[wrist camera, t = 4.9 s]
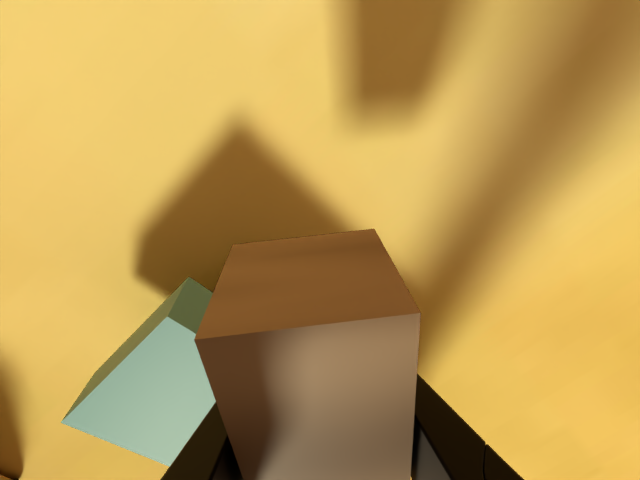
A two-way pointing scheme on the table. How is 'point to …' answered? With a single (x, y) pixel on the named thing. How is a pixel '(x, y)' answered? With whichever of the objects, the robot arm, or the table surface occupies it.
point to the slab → (151, 383)
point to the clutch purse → (5, 478)
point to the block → (314, 358)
